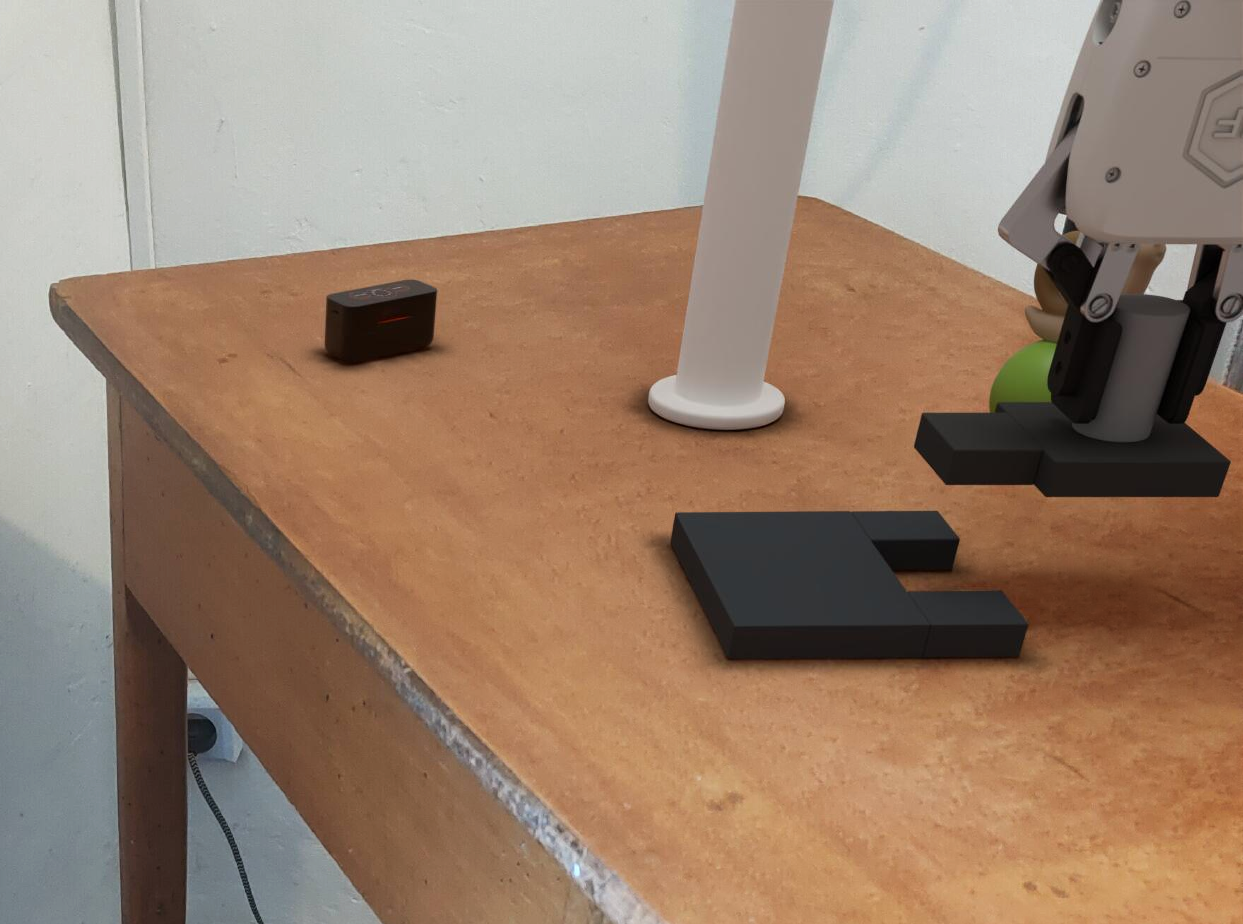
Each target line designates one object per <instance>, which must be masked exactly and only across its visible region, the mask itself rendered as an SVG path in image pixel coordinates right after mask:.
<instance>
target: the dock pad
mask: <svg viewBox="0 0 1243 924" xmlns="http://www.w3.org/2000/svg"><path fill="white" fill-rule="evenodd" d="M670 535H671V536H670V542H669V543H670V546H671V548H672V550H673V551H674V554H675V555H676V557H677V559H678V561H679V564H680V565H681V568H682V569H683V571H684V573H685V575H686V577H687V580H688V582H689V583H690V585H691V587H692V589H693V592H694V593H695V596H696V598H697V599H698V601H699V603H700V605H701V607H702V609H703V612H704V613H705V616H706V618H707V620H708V622H709V624H710V625H711V628H712V629H713V632H714V634H715V636H716V637H717V639H718V641H719V643H720V645H721V647H722V649H723V651H724V653H725V655H726V657H727V659H728V660H773V659H774V660H778V659H779V660H781V659H782V660H784V659H793V660H794V659H795V660H796V659H797V660H798V659H803V660H805V659H921V658H923V659H925V658H930V659H931V658H937V659H938V658H944V659H945V658H946V659H947V658H1019V657H1020V655H1021V651H1022V649H1023V645H1024V642H1025V638H1026V635H1027V632H1028V629H1029V622H1028V620H1027V619H1026V618H1025V617H1024V615H1022V613H1021V612H1020V611H1019V610H1018V609H1017V607H1016V606H1015V605H1014V604H1013V602H1012V601H1011V599H1009V597H1008V595H1006V594H1005V592H1004V591H1003V590H1001V589H997V590H992V589H991V590H989V589H988V590H987V589H986V590H907V589H906V588H905V587H904V585H903V584H902V582H901V581H900V580H899V579H898V577H897V575H896V574H895V573H894V571H952V570H953V569H954V564H955V561H956V556H957V552H958V548H959V545H960V541H961V538H960V537H959V536H958V534H957V533H956V532H955V531H954V529H953V528H952V527H951V525H950V524H949V523H948V522H947V520H946V519H945V518H944V517H943V516H942V514H941V513H940V512H939V511H938V510H858V511H857V510H852V511H850V510H811V511H809V510H807V511H805V510H801V511H800V510H799V511H692V512H691V511H689V512H688V511H686V512H684V511H682V512H681V511H679V512H677V511H676V512H675V513H674V518H673V524H672V531H671V534H670Z"/></svg>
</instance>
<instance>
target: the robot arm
mask: <svg viewBox="0 0 1243 924" xmlns="http://www.w3.org/2000/svg"><path fill="white" fill-rule="evenodd" d="M1059 214H1060V215H1064V216H1066V218H1067V219H1068V220H1069V221H1071V222H1073V223H1074V226H1075V227H1076V229H1077V231H1080V234H1079V237H1078V240H1077V242H1076V245H1075V244H1074V243H1072V242H1071V241H1070V240H1068V239H1067V238H1066V237H1064V236H1063V235H1064V234H1061V233H1060V232H1058V231H1057V230H1056V228H1055V222H1056V219H1057V217H1058V215H1059ZM997 233H998V236H999V237H1000V238H1001V239H1002V240H1003V241H1004V242H1006V243H1007V244H1008V245H1009V246H1011V247H1012V248H1014V249H1015V250H1016V251H1018V252H1020V253H1021V254H1022V255H1024V256H1025V257H1027V258H1028V259H1030V260H1032V261H1033V262H1035V263H1036V264H1037V263H1038V264H1039V265H1041V266H1042V267H1043V268H1044V270H1045V271H1046V273H1047V274H1048V276H1049V277H1050V279H1051V280H1052V282H1053V283H1054V285H1055V286H1056V288H1057V289H1058V290H1059V293H1060V296H1061V298H1062V299H1063V300H1065V301H1066V302H1067V304H1068V307H1067V310H1066V314H1065V317H1064V321H1063V324H1062V328H1061V331H1060V335H1059V338H1058V342H1057V345H1056V349H1055V352H1054V356H1053V359H1052V363H1051V366H1050V370H1049V373H1048V379H1047V386H1048V390H1049V391H1050V392H1051V402H1052V403H1053V404H1054V405H1055V406H1056V407H1057V408H1058V409H1059V410H1060V411H1061V412H1062V413H1063V414H1065V415H1066V416H1067V417H1068V418H1069V419H1070V420H1071V421H1072V422H1073V423H1074V424H1088V423H1090V422H1091V420H1094V419H1095V418H1096V416H1097V413H1098V409H1099V406H1100V403H1101V400H1102V396H1103V393H1104V390H1105V387H1106V383H1107V380H1108V377H1109V374H1110V370H1111V367H1112V364H1113V361H1114V357H1115V354H1116V351H1117V348H1118V344H1119V341H1120V338H1121V335H1122V325H1121V324H1120V323H1119V322H1117V321H1116V320H1115V319H1114V318H1113V317H1114V314H1115V311H1116V307H1117V303H1118V300H1119V298H1120V295H1121V293H1122V290H1123V288H1124V285H1125V283H1126V280H1127V278H1128V275H1129V273H1130V270H1131V268H1132V265H1133V263H1134V260H1135V258H1136V255H1137V253H1138V250H1139V248H1140V245H1141V244H1165V245H1196V248H1195V252H1194V256H1193V261H1192V265H1191V270H1190V274H1189V277H1188V278H1189V279H1188V282H1187V288H1186V291H1185V292H1184V295H1183V298H1182V299H1177V300H1178V301H1180V302H1182V303H1184V304H1186V305H1187V306H1189V308H1190V313H1189V316H1188V319H1187V322H1186V325H1185V328H1184V331H1183V335H1182V338H1181V341H1180V344H1179V347H1178V350H1177V353H1176V356H1175V359H1174V362H1173V365H1172V368H1171V371H1170V374H1169V377H1168V381H1167V384H1166V387H1165V390H1164V393H1163V396H1162V399H1161V402H1160V405H1159V408H1158V411H1157V414H1158V415H1159V416H1160V417H1161V418H1162V419H1164V420H1165V421H1166V422H1167V423H1169V424H1183V423H1186V421H1187V420H1188V418H1189V415H1190V412H1191V409H1192V406H1193V403H1194V400H1195V397H1196V396H1200V395H1201V394H1202V393H1203V392H1204V389H1205V388H1206V385H1207V382H1208V379H1209V377H1210V373H1211V371H1212V367H1213V365H1214V362H1215V358H1216V356H1217V352H1218V350H1219V346H1220V345H1221V341H1222V338H1223V335H1224V332H1225V330H1226V326H1227V324H1228V323H1232V322H1234V321H1236V320H1238V319H1240V318H1241V316H1243V0H1100V1H1099V3H1098V6H1097V7H1096V10H1095V12H1094V15H1093V17H1092V20H1091V22H1090V24H1089V27H1088V30H1087V33H1086V34H1085V38H1084V40H1083V42H1082V45H1081V48H1080V50H1079V54H1078V55H1077V59H1076V62H1075V64H1074V67H1073V71H1072V73H1071V76H1070V78H1069V81H1068V85H1067V87H1066V90H1065V94H1064V96H1063V100H1062V103H1061V106H1060V108H1059V113H1058V116H1057V118H1056V121H1055V125H1054V128H1053V132H1052V136H1051V139H1050V142H1049V145H1048V149H1047V152H1046V157H1045V160H1044V163H1043V164H1042V166H1041V167H1040V168H1039V170H1038V171H1037V173H1036V174H1035V175H1034V176H1033V178H1032V179H1031V180H1030V181H1029V183H1028V184H1027V185H1026V187H1025V188H1024V189H1023V191H1022V192H1021V193H1020V195H1019V196H1018V198H1017V199H1016V200H1015V201H1014V202H1013V204H1012V205H1011V206H1010V208H1009V209H1008V211H1006V213H1005V214H1004V216H1002V218H1001V220H1000V222H999V223H998V225H997Z"/></svg>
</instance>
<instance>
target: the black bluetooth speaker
mask: <svg viewBox="0 0 1243 924" xmlns="http://www.w3.org/2000/svg"><path fill="white" fill-rule="evenodd" d="M437 298H438V288H437V287H435V286H432V285H430V284H428V283H426V282H423V281H421V280H417V279H403V280H398V281H397V280H396V281H391V282H387V283H382V284H376V285H371V286H367V287H360V288H354V289H350V290H345V291H339V292H334V293H330V294H327V295H326V297H325V299H326V300H325V322H324V323H325V324H324V349H325V351H326V352H327V353H328V354H329V355H331V356H333V357H334V358H337V359H339V360H340V361H343V362H344V363H347V364H348V363H349V364H350V363H358V362H363V361H366V360H373V359H377V358H382V357H386V356H390V355H396V354H400V353H405V352H411V351H414V350H420V349H424V348H427V347H429V346H431V344H432V343H433V341H434V338H435V337H434V336H435V327H436V326H435V323H436V313H437V300H438V299H437Z"/></svg>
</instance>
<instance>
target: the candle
mask: <svg viewBox="0 0 1243 924" xmlns="http://www.w3.org/2000/svg"><path fill="white" fill-rule="evenodd" d="M834 2H835V0H734V6H733V12H732V18H731V19H732V20H731V26H730V31H729V32H730V33H729V37H728V44H727V45H728V46H727V51H726V58H725V63H724V70H723V71H724V72H723V76H722V84H721V88H720V89H721V90H720V96H719V103H718V108H717V113H716V114H717V115H716V121H715V128H714V135H713V140H712V146H711V147H712V148H711V154H710V159H709V161H710V162H709V165H708V166H709V167H708V172H707V180H706V185H705V191H704V199H703V204H702V211H701V217H700V224H699V229H698V235H697V243H696V250H695V256H694V260H693V261H694V262H693V268H692V276H691V280H690V286H689V293H688V294H689V295H688V300H687V308H686V313H685V319H684V325H683V331H682V338H681V339H682V340H681V345H680V352H679V358H678V365H677V370H676V374H674V375H670V376H666V377H663V378H661V379H660V380H658V381H656V382H654V383H653V385H652V386H651V387H650V389H649V392H648V397H647V403H648V406H649V408H650V409H651V411H652V412H654V413H655V414H656V415H658V416H660V417H661V418H663V419H665V420H667V421H670V422H673V423H676V424H680V425H684V426H686V427H693V428H697V429H706V430H717V431H718V430H719V431H720V430H722V431H733V430H735V431H736V430H747V429H754V428H759V427H763V426H766V425H769V424H771V423H773V422H775V421H776V420H778V419H779V418H780V417H781V416H782V415H783V412H784V409H785V404H786V398H785V395H784V394H783V392H782V391H781V390H779V388H778V387H776V386H775V385H772V384H771V383H768V382H766V381H764V380H765V376H766V370H767V365H768V359H769V354H770V348H771V342H772V337H773V331H774V326H775V321H776V316H777V311H778V304H779V299H780V295H781V288H782V282H783V278H784V274H785V273H784V272H785V267H786V263H787V262H786V261H787V258H788V257H787V256H788V251H789V247H790V241H791V235H792V231H793V224H794V219H795V214H796V208H797V203H798V197H799V192H800V186H801V181H802V175H803V170H804V166H805V160H806V156H807V155H806V154H807V150H808V149H807V148H808V143H809V137H810V132H811V127H812V122H813V117H814V111H815V106H816V100H817V95H818V89H819V84H820V79H821V73H822V69H823V63H824V58H825V51H826V48H827V41H828V36H829V29H830V25H831V19H832V14H833V9H834V4H835V3H834Z"/></svg>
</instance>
